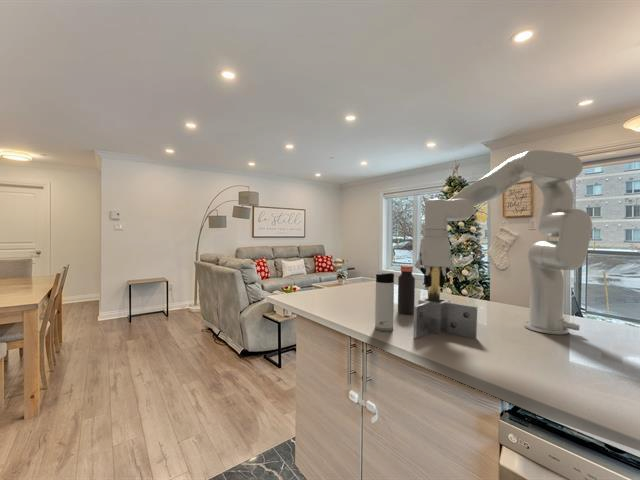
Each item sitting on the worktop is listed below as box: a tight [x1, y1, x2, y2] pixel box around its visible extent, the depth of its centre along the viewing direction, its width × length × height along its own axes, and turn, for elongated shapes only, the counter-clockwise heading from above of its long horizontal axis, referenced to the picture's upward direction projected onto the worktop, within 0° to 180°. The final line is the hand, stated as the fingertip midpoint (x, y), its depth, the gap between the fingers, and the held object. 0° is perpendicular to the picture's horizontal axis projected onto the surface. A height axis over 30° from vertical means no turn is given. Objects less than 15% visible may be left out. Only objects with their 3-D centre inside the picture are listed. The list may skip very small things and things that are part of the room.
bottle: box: [397, 264, 416, 316], centre depth 129 cm, size 7×7×20 cm
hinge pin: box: [427, 266, 441, 299], centre depth 107 cm, size 4×4×12 cm
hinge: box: [412, 296, 478, 340], centre depth 100 cm, size 18×18×10 cm
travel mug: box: [374, 272, 395, 333], centre depth 106 cm, size 6×7×20 cm
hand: (434, 285), depth 107 cm, fingers closed on hinge pin, 4 cm apart
